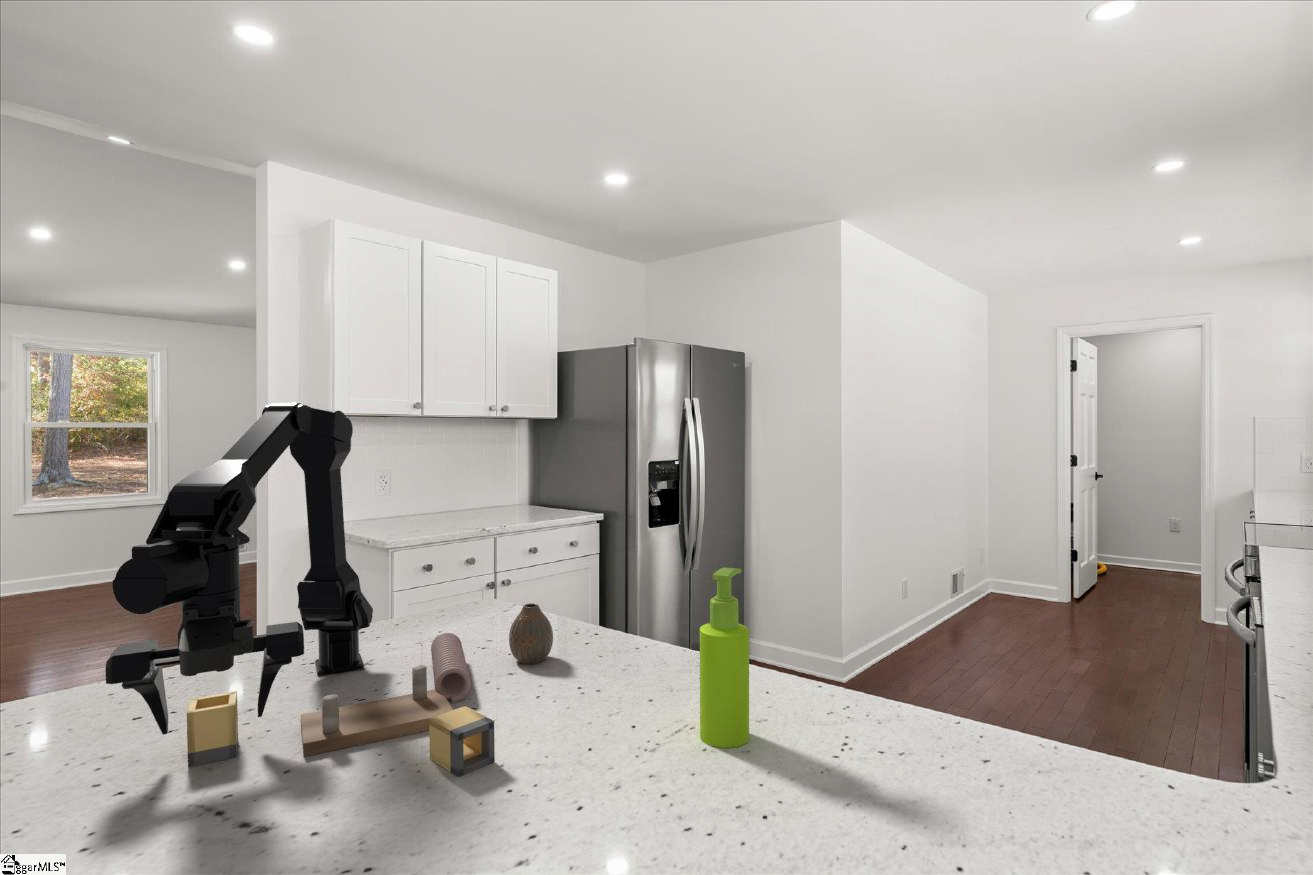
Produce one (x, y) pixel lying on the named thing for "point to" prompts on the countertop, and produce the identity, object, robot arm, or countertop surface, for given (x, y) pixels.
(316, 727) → the pin board
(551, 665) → the countertop surface
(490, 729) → the tan angular part
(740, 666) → the soap dispenser
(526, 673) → the countertop surface
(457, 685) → the coil
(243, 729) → the countertop surface
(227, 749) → the loose sleeve
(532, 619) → the vase
